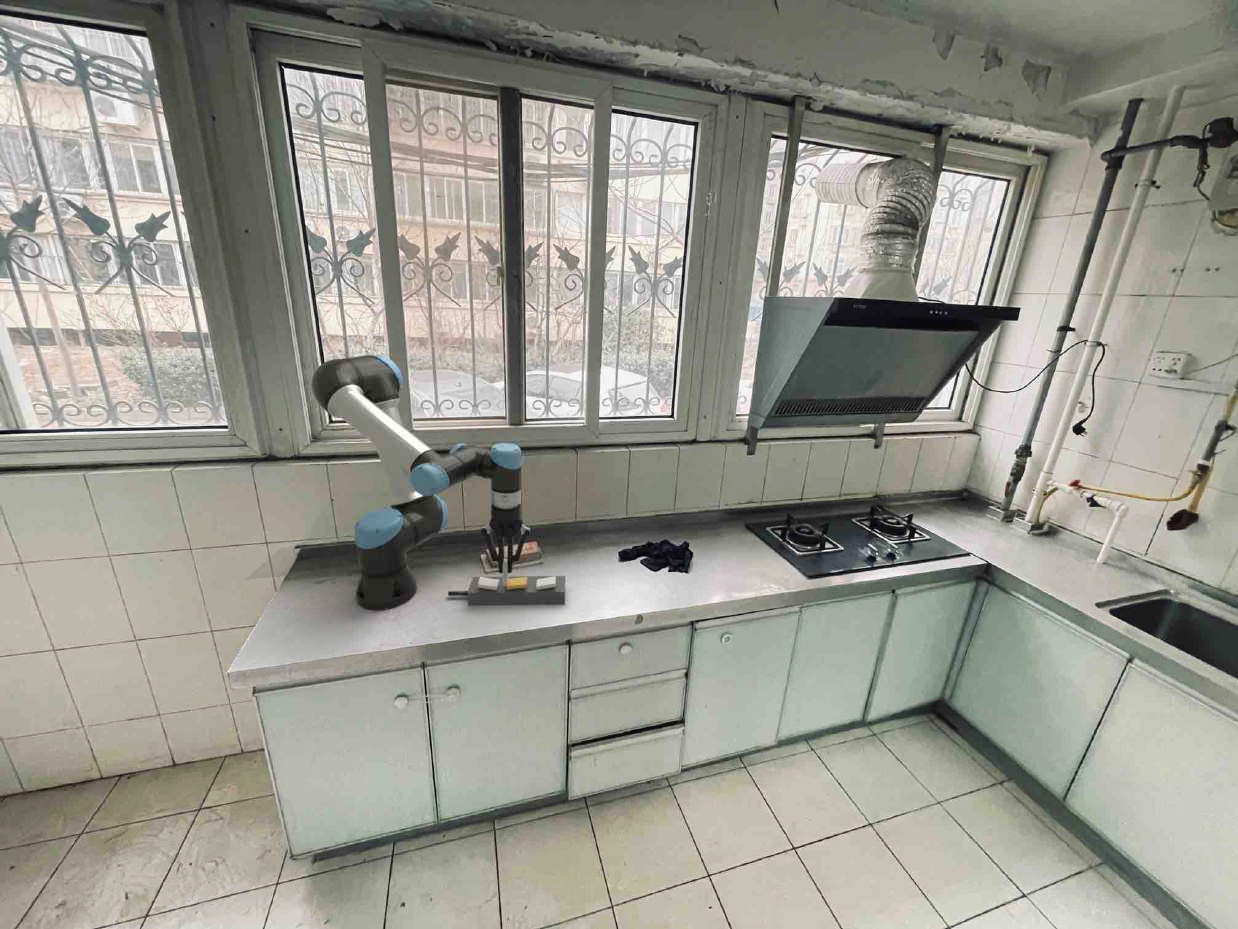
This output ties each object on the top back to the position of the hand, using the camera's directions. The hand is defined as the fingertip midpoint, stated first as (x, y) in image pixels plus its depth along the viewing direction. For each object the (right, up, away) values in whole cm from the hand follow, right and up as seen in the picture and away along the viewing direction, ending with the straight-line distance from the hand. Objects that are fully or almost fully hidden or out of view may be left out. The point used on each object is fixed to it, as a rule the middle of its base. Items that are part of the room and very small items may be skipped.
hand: (505, 582), depth 134 cm
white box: (-5, -1, 0) cm, 5 cm away
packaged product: (-3, +1, +22) cm, 22 cm away
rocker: (+11, -1, +2) cm, 11 cm away
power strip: (0, -5, +3) cm, 6 cm away
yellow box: (+3, -1, +1) cm, 3 cm away
